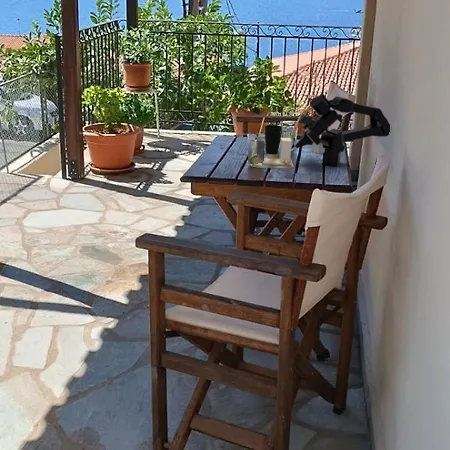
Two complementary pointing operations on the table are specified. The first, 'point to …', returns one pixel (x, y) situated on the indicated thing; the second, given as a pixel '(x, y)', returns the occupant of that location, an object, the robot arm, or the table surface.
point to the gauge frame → (269, 158)
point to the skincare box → (318, 148)
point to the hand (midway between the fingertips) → (295, 147)
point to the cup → (272, 138)
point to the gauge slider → (285, 150)
